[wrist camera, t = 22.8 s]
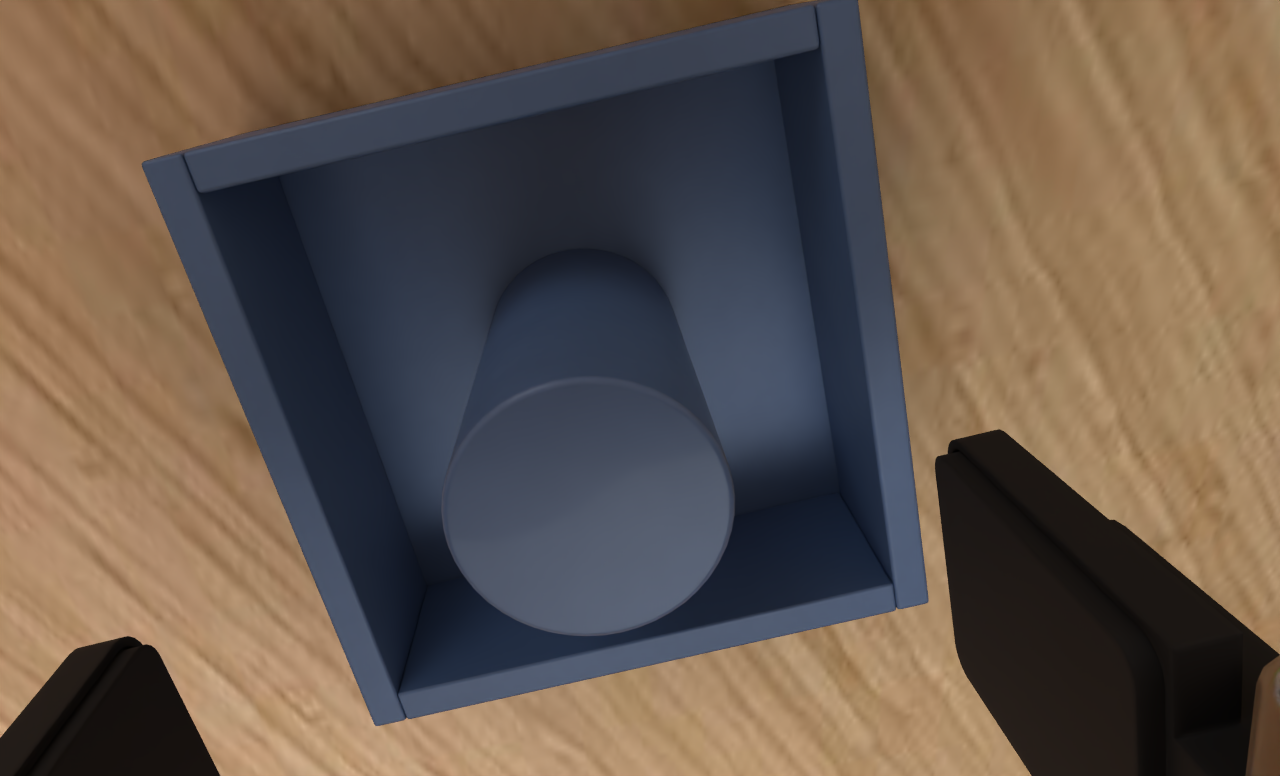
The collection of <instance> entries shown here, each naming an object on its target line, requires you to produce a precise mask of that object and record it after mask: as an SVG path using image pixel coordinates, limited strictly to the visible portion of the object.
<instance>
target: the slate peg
mask: <svg viewBox="0 0 1280 776" xmlns="http://www.w3.org/2000/svg"><path fill="white" fill-rule="evenodd" d="M441 512H442V521H443V529H444V533H445V537H446V540H447V544H448V547H449V549H450V551H451V554H452V556H453V558H454V561H455V562H456V564H457V566H458V567H459V569H460V570H461V572H462V574H463V575H464V577H465V578H466V579H467V581H468V582H469V583H470V584H471V586H472V587H473V588H474V589H475V590H476V591H477V592H478V593H479V594H480V595H481V596H482V597H483V598H484V599H485V600H486V601H487V602H488V603H490V604H491V605H493V606H494V607H495V608H497V609H498V610H499V611H501V612H502V613H504V614H506V615H508V616H509V617H511V618H513V619H515V620H517V621H519V622H521V623H524V624H526V625H529V626H531V627H534V628H537V629H541V630H544V631H548V632H552V633H558V634H564V635H573V636H599V635H608V634H614V633H620V632H625V631H628V630H632V629H635V628H639V627H641V626H644V625H646V624H649V623H651V622H654V621H656V620H658V619H660V618H661V617H663V616H665V615H667V614H669V613H671V612H672V611H674V610H675V609H676V608H678V607H679V606H681V605H682V604H683V603H685V602H686V601H687V600H688V599H689V598H690V597H692V596H693V595H694V594H695V593H696V592H697V591H698V590H699V589H700V588H701V587H702V585H703V584H704V583H705V582H706V581H707V580H708V578H709V577H710V576H711V574H712V573H713V571H714V569H715V568H716V566H717V565H718V563H719V562H720V559H721V557H722V555H723V553H724V551H725V549H726V547H727V544H728V541H729V538H730V535H731V532H732V527H733V521H734V515H735V493H734V485H733V479H732V475H731V472H730V468H729V464H728V461H727V459H726V456H725V453H724V450H723V448H722V445H721V442H720V439H719V436H718V434H717V431H716V428H715V425H714V422H713V420H712V417H711V414H710V411H709V408H708V406H707V403H706V400H705V397H704V395H703V392H702V389H701V386H700V383H699V381H698V378H697V375H696V372H695V369H694V367H693V364H692V361H691V358H690V355H689V353H688V350H687V347H686V344H685V342H684V339H683V336H682V333H681V330H680V328H679V325H678V322H677V319H676V316H675V314H674V311H673V308H672V306H671V304H670V301H669V299H668V297H667V295H666V294H665V292H664V291H663V289H662V287H661V286H660V285H659V284H658V282H657V281H656V280H655V279H654V278H653V277H652V276H651V275H650V274H649V273H648V272H647V271H646V270H645V269H643V268H642V267H640V266H639V265H637V264H636V263H635V262H633V261H631V260H629V259H627V258H625V257H623V256H620V255H617V254H615V253H612V252H608V251H603V250H597V249H572V250H565V251H561V252H557V253H554V254H551V255H548V256H546V257H544V258H542V259H539V260H538V261H536V262H534V263H533V264H531V265H530V266H528V267H527V268H526V269H524V270H523V271H522V272H521V273H519V274H518V275H517V277H516V278H515V279H514V280H513V281H512V282H511V283H510V284H509V286H508V287H507V289H506V290H505V291H504V293H503V295H502V297H501V299H500V301H499V303H498V305H497V308H496V311H495V314H494V317H493V320H492V323H491V327H490V330H489V333H488V337H487V340H486V343H485V347H484V350H483V353H482V356H481V360H480V363H479V366H478V370H477V373H476V376H475V380H474V383H473V386H472V390H471V393H470V396H469V400H468V403H467V406H466V410H465V413H464V416H463V420H462V423H461V426H460V430H459V433H458V436H457V440H456V443H455V446H454V450H453V453H452V456H451V459H450V463H449V466H448V469H447V473H446V476H445V481H444V486H443V491H442V508H441Z"/></svg>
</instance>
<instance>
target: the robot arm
mask: <svg viewBox="0 0 1280 776" xmlns="http://www.w3.org/2000/svg"><path fill="white" fill-rule="evenodd" d="M935 472H936V481H937V489H938V498H939V507H940V515H941V524H942V533H943V541H944V550H945V559H946V567H947V576H948V585H949V593H950V602H951V610H952V619H953V628H954V636H955V644H956V650H957V653H958V657H959V660H960V663H961V665H962V668H963V670H964V672H965V674H966V676H967V678H968V679H969V681H970V682H971V684H972V685H973V687H974V688H975V690H976V691H977V693H978V694H979V696H980V697H981V699H982V701H983V702H984V704H985V705H986V707H987V708H988V710H989V711H990V713H991V714H992V716H993V717H994V719H995V720H996V722H997V723H998V725H999V726H1000V728H1001V730H1002V731H1003V733H1004V734H1005V736H1006V737H1007V739H1008V740H1009V742H1010V743H1011V745H1012V746H1013V748H1014V749H1015V751H1016V752H1017V754H1018V755H1019V757H1020V759H1021V760H1022V762H1023V763H1024V765H1025V766H1026V768H1027V769H1028V771H1029V772H1030V774H1031V775H1032V776H1280V654H1278V653H1277V652H1276V651H1275V650H1274V649H1272V648H1271V647H1270V646H1269V645H1268V644H1266V643H1265V642H1264V641H1263V640H1262V639H1260V638H1259V637H1258V636H1257V635H1256V634H1254V633H1253V632H1252V631H1251V630H1250V629H1248V628H1247V627H1246V626H1245V625H1244V624H1242V623H1241V622H1240V621H1239V620H1237V619H1236V618H1235V617H1234V616H1233V615H1231V614H1230V613H1229V612H1228V611H1227V610H1225V609H1224V608H1223V607H1222V606H1221V605H1219V604H1218V603H1217V602H1216V601H1215V600H1213V599H1212V598H1211V597H1210V596H1209V595H1207V594H1206V593H1205V592H1204V591H1203V590H1201V589H1200V588H1199V587H1198V586H1197V585H1195V584H1194V583H1193V582H1192V581H1191V580H1189V579H1188V578H1187V577H1186V576H1184V575H1183V574H1182V573H1181V572H1180V571H1178V570H1177V569H1176V568H1175V567H1174V566H1172V565H1171V564H1170V563H1169V562H1168V561H1166V560H1165V559H1164V558H1163V557H1162V556H1160V555H1159V554H1158V553H1157V552H1156V551H1154V550H1153V549H1152V548H1151V547H1150V546H1148V545H1147V544H1146V543H1145V542H1144V541H1142V540H1141V539H1140V538H1139V537H1137V536H1136V535H1135V534H1134V533H1133V532H1131V531H1130V530H1129V529H1128V528H1127V527H1125V526H1124V525H1122V524H1120V523H1119V522H1117V521H1115V520H1109V519H1107V518H1106V517H1105V516H1104V515H1103V514H1102V513H1100V512H1099V511H1098V510H1097V509H1096V508H1094V507H1093V506H1092V505H1091V504H1090V503H1089V502H1087V501H1086V500H1085V499H1084V498H1083V497H1081V496H1080V495H1079V494H1078V493H1077V492H1075V491H1074V490H1073V489H1072V488H1071V487H1070V486H1068V485H1067V484H1066V483H1065V482H1064V481H1062V480H1061V479H1060V478H1059V477H1058V476H1056V475H1055V474H1054V473H1053V472H1052V471H1051V470H1049V469H1048V468H1047V467H1046V466H1045V465H1043V464H1042V463H1041V462H1040V461H1039V460H1037V459H1036V458H1035V457H1034V456H1033V455H1032V454H1030V453H1029V452H1028V451H1027V450H1026V449H1024V448H1023V447H1022V446H1021V445H1020V444H1019V443H1017V442H1016V441H1015V440H1014V439H1013V438H1011V437H1010V436H1009V435H1008V434H1007V433H1005V432H1004V431H1002V430H1000V429H999V430H994V431H990V432H985V433H981V434H977V435H973V436H969V437H964V438H960V439H956V440H952V441H951V442H950V444H949V447H948V454H946V455H942V456H938V457H937V458H936V461H935ZM0 776H220V774H219V772H218V770H217V768H216V766H215V764H214V762H213V760H212V758H211V756H210V754H209V752H208V750H207V748H206V746H205V744H204V742H203V740H202V738H201V736H200V734H199V732H198V730H197V728H196V726H195V724H194V722H193V721H192V719H191V717H190V715H189V713H188V711H187V709H186V707H185V705H184V703H183V701H182V699H181V697H180V695H179V693H178V691H177V689H176V687H175V685H174V683H173V681H172V679H171V677H170V675H169V673H168V671H167V669H166V667H165V665H164V663H163V661H162V659H161V657H160V655H159V653H158V652H157V650H156V649H155V648H154V647H152V646H150V645H142V644H141V642H139V641H138V640H137V639H135V638H133V637H129V636H127V637H122V638H118V639H114V640H110V641H106V642H101V643H97V644H93V645H89V646H85V647H81V648H77V649H75V650H74V651H73V652H72V653H71V654H69V656H68V657H67V658H66V659H65V660H64V662H63V663H62V664H61V665H60V666H59V668H58V669H57V670H56V671H55V673H54V674H53V675H52V676H51V677H50V679H49V680H48V681H47V682H46V683H45V685H44V686H43V687H42V688H41V689H40V691H39V692H38V693H37V694H36V695H35V697H34V698H33V699H32V700H31V702H30V703H29V704H28V705H27V706H26V708H25V709H24V710H23V711H22V712H21V714H20V715H19V716H18V717H17V718H16V720H15V721H14V722H13V723H12V724H11V726H10V727H9V728H8V729H7V730H6V732H5V733H4V734H3V735H2V737H1V738H0Z"/></svg>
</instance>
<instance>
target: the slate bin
mask: <svg viewBox="0 0 1280 776" xmlns="http://www.w3.org/2000/svg"><path fill="white" fill-rule="evenodd" d="M142 168H143V170H144V172H145V175H146V177H147V180H148V182H149V184H150V187H151V189H152V192H153V194H154V196H155V199H156V201H157V204H158V206H159V208H160V211H161V213H162V216H163V218H164V220H165V223H166V225H167V228H168V230H169V232H170V235H171V237H172V240H173V242H174V244H175V247H176V249H177V252H178V254H179V256H180V259H181V261H182V264H183V266H184V268H185V271H186V273H187V276H188V278H189V280H190V283H191V285H192V288H193V290H194V292H195V295H196V297H197V300H198V302H199V304H200V307H201V309H202V312H203V314H204V316H205V319H206V321H207V324H208V326H209V328H210V331H211V333H212V336H213V338H214V340H215V343H216V345H217V348H218V350H219V352H220V355H221V357H222V360H223V362H224V364H225V367H226V369H227V372H228V374H229V376H230V379H231V381H232V384H233V386H234V388H235V391H236V393H237V396H238V398H239V400H240V403H241V405H242V408H243V410H244V412H245V415H246V417H247V420H248V422H249V424H250V427H251V429H252V432H253V434H254V436H255V439H256V441H257V444H258V446H259V448H260V451H261V453H262V456H263V458H264V460H265V463H266V465H267V468H268V470H269V472H270V475H271V477H272V480H273V482H274V484H275V487H276V489H277V492H278V494H279V496H280V499H281V501H282V504H283V506H284V508H285V511H286V513H287V516H288V518H289V520H290V523H291V525H292V528H293V530H294V532H295V535H296V537H297V540H298V542H299V544H300V547H301V549H302V552H303V554H304V556H305V559H306V561H307V564H308V566H309V568H310V571H311V573H312V576H313V578H314V580H315V583H316V585H317V588H318V590H319V592H320V595H321V597H322V600H323V602H324V604H325V607H326V609H327V612H328V614H329V616H330V619H331V621H332V624H333V626H334V628H335V631H336V633H337V636H338V638H339V640H340V643H341V645H342V648H343V650H344V652H345V655H346V657H347V660H348V662H349V664H350V667H351V669H352V672H353V674H354V676H355V679H356V681H357V684H358V686H359V688H360V691H361V693H362V696H363V698H364V700H365V703H366V705H367V708H368V710H369V712H370V715H371V717H372V720H373V722H374V724H375V726H380V725H385V724H389V723H394V722H398V721H403V720H405V719H406V717H407V718H408V719H412V718H416V717H421V716H425V715H430V714H434V713H439V712H443V711H448V710H452V709H457V708H461V707H466V706H470V705H475V704H479V703H484V702H488V701H493V700H497V699H502V698H506V697H511V696H515V695H520V694H524V693H528V692H533V691H537V690H542V689H546V688H551V687H555V686H560V685H564V684H569V683H573V682H578V681H582V680H587V679H591V678H596V677H600V676H605V675H609V674H614V673H618V672H623V671H627V670H632V669H636V668H641V667H645V666H650V665H654V664H659V663H663V662H667V661H672V660H676V659H681V658H685V657H690V656H694V655H699V654H703V653H708V652H712V651H717V650H721V649H726V648H730V647H735V646H739V645H744V644H748V643H753V642H757V641H762V640H766V639H771V638H775V637H780V636H784V635H789V634H793V633H798V632H802V631H806V630H811V629H815V628H820V627H824V626H829V625H833V624H838V623H842V622H847V621H851V620H856V619H860V618H865V617H869V616H874V615H878V614H883V613H887V612H892V611H895V610H896V607H897V608H898V609H904V608H908V607H912V606H917V605H921V604H926V603H928V590H927V582H926V573H925V565H924V556H923V548H922V539H921V531H920V522H919V514H918V505H917V497H916V488H915V480H914V471H913V463H912V455H911V446H910V438H909V429H908V421H907V412H906V404H905V395H904V387H903V378H902V370H901V361H900V353H899V344H898V336H897V327H896V319H895V311H894V302H893V294H892V285H891V277H890V268H889V260H888V251H887V243H886V234H885V226H884V217H883V209H882V200H881V192H880V183H879V175H878V167H877V158H876V150H875V141H874V133H873V124H872V116H871V107H870V99H869V90H868V82H867V73H866V65H865V56H864V48H863V39H862V31H861V23H860V14H859V6H858V0H817V1H811V2H805V3H799V4H793V5H788V6H783V7H779V8H775V9H771V10H766V11H762V12H758V13H754V14H749V15H745V16H741V17H737V18H732V19H728V20H724V21H720V22H715V23H711V24H707V25H703V26H698V27H694V28H690V29H686V30H682V31H677V32H673V33H669V34H665V35H660V36H656V37H652V38H648V39H643V40H639V41H635V42H631V43H626V44H622V45H618V46H614V47H609V48H605V49H601V50H597V51H592V52H588V53H584V54H580V55H575V56H571V57H567V58H563V59H558V60H554V61H550V62H546V63H541V64H537V65H533V66H529V67H524V68H520V69H516V70H512V71H507V72H503V73H499V74H495V75H490V76H486V77H482V78H478V79H473V80H469V81H465V82H461V83H456V84H452V85H448V86H444V87H439V88H435V89H431V90H427V91H422V92H418V93H414V94H410V95H405V96H401V97H397V98H393V99H388V100H384V101H380V102H376V103H371V104H367V105H363V106H359V107H354V108H350V109H346V110H342V111H337V112H333V113H329V114H325V115H320V116H316V117H312V118H308V119H303V120H299V121H295V122H291V123H286V124H282V125H278V126H274V127H269V128H265V129H261V130H257V131H252V132H248V133H244V134H240V135H236V136H233V137H229V138H226V139H222V140H218V141H215V142H211V143H208V144H204V145H200V146H197V147H193V148H190V149H186V150H183V151H179V152H175V153H172V154H168V155H165V156H161V157H157V158H154V159H150V160H147V161H144V162H143V163H142ZM572 249H597V250H603V251H608V252H612V253H615V254H617V255H620V256H623V257H625V258H627V259H629V260H631V261H633V262H635V263H636V264H637V265H639V266H640V267H642V268H643V269H645V270H646V271H647V272H648V273H649V274H650V275H651V276H652V277H653V278H654V279H655V280H656V281H657V282H658V284H659V285H660V286H661V287H662V289H663V291H664V292H665V294H666V295H667V297H668V299H669V301H670V304H671V306H672V308H673V311H674V314H675V316H676V319H677V322H678V325H679V328H680V330H681V333H682V336H683V339H684V342H685V344H686V347H687V350H688V353H689V355H690V358H691V361H692V364H693V367H694V369H695V372H696V375H697V378H698V381H699V383H700V386H701V389H702V392H703V395H704V397H705V400H706V403H707V406H708V408H709V411H710V414H711V417H712V420H713V422H714V425H715V428H716V431H717V434H718V436H719V439H720V442H721V445H722V448H723V450H724V453H725V456H726V459H727V461H728V464H729V468H730V472H731V475H732V479H733V485H734V493H735V515H734V521H733V527H732V532H731V535H730V538H729V541H728V544H727V547H726V549H725V551H724V553H723V555H722V557H721V559H720V562H719V563H718V565H717V566H716V568H715V569H714V571H713V573H712V574H711V576H710V577H709V578H708V580H707V581H706V582H705V583H704V584H703V585H702V587H701V588H700V589H699V590H698V591H697V592H696V593H695V594H694V595H693V596H692V597H690V598H689V599H688V600H687V601H686V602H685V603H683V604H682V605H681V606H679V607H678V608H676V609H675V610H674V611H672V612H671V613H669V614H667V615H665V616H663V617H661V618H660V619H658V620H656V621H654V622H651V623H649V624H646V625H644V626H641V627H639V628H635V629H632V630H628V631H625V632H620V633H614V634H608V635H599V636H573V635H564V634H558V633H552V632H548V631H544V630H541V629H537V628H534V627H531V626H529V625H526V624H524V623H521V622H519V621H517V620H515V619H513V618H511V617H509V616H508V615H506V614H504V613H502V612H501V611H499V610H498V609H497V608H495V607H494V606H493V605H491V604H490V603H488V602H487V601H486V600H485V599H484V598H483V597H482V596H481V595H480V594H479V593H478V592H477V591H476V590H475V589H474V588H473V587H472V586H471V584H470V583H469V582H468V581H467V579H466V578H465V577H464V575H463V574H462V572H461V570H460V569H459V567H458V566H457V564H456V562H455V561H454V558H453V556H452V554H451V551H450V549H449V547H448V544H447V540H446V537H445V533H444V529H443V521H442V512H441V508H442V491H443V486H444V481H445V476H446V473H447V469H448V466H449V463H450V459H451V456H452V453H453V450H454V446H455V443H456V440H457V436H458V433H459V430H460V426H461V423H462V420H463V416H464V413H465V410H466V406H467V403H468V400H469V396H470V393H471V390H472V386H473V383H474V380H475V376H476V373H477V370H478V366H479V363H480V360H481V356H482V353H483V350H484V347H485V343H486V340H487V337H488V333H489V330H490V327H491V323H492V320H493V317H494V314H495V311H496V308H497V305H498V303H499V301H500V299H501V297H502V295H503V293H504V291H505V290H506V289H507V287H508V286H509V284H510V283H511V282H512V281H513V280H514V279H515V278H516V277H517V275H518V274H519V273H521V272H522V271H523V270H524V269H526V268H527V267H528V266H530V265H531V264H533V263H534V262H536V261H538V260H539V259H542V258H544V257H546V256H548V255H551V254H554V253H557V252H561V251H565V250H572Z"/></svg>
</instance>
